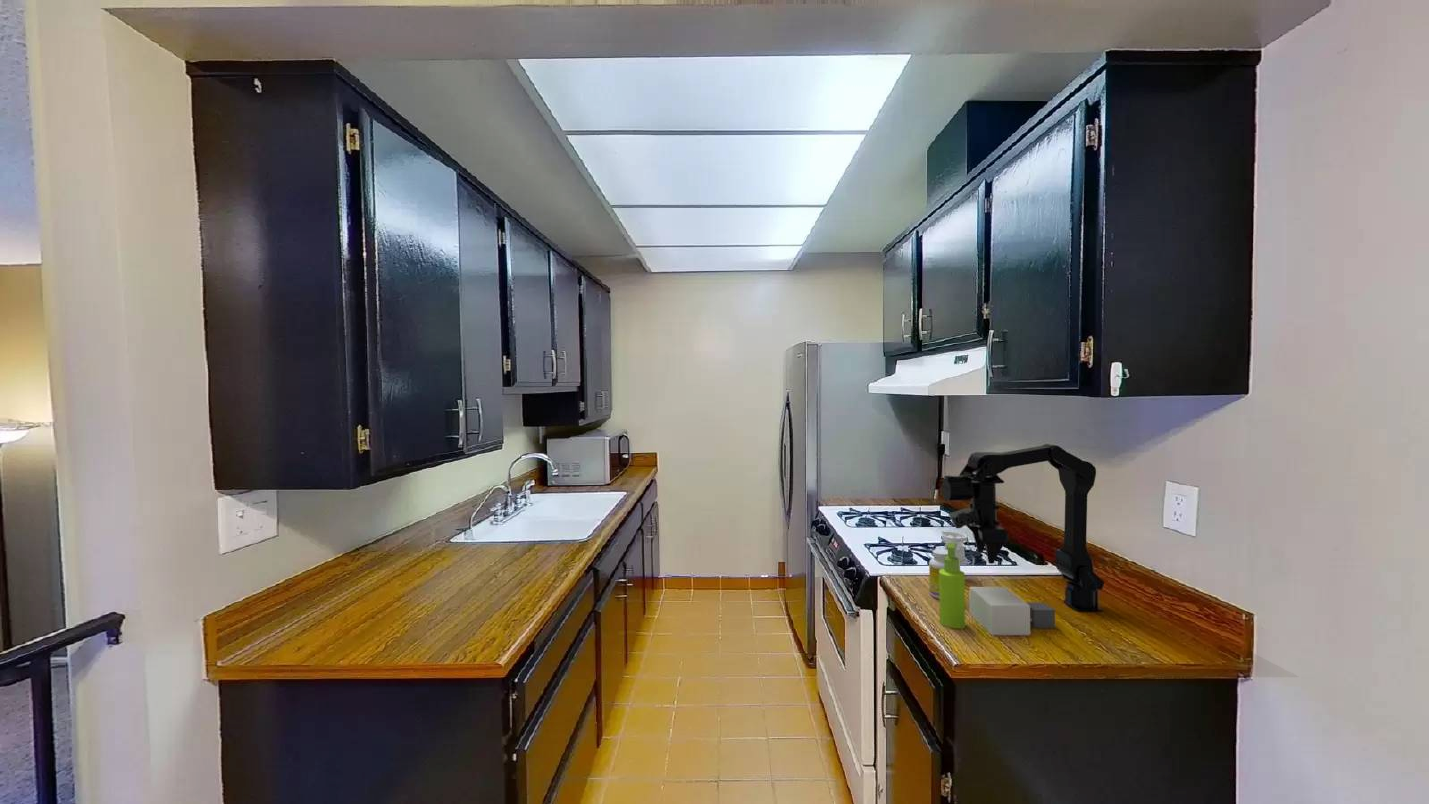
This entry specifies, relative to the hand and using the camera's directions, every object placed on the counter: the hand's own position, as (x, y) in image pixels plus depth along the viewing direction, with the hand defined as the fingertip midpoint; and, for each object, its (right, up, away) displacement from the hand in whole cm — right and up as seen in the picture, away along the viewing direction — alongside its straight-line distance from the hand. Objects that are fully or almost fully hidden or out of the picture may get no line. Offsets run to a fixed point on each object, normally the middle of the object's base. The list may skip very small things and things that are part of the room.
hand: (985, 557), depth 140 cm
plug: (+9, -14, -9) cm, 19 cm away
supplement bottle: (-7, -14, +10) cm, 19 cm away
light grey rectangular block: (-1, -14, -9) cm, 17 cm away
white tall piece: (+2, -14, +22) cm, 26 cm away
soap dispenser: (-12, -15, -7) cm, 20 cm away
